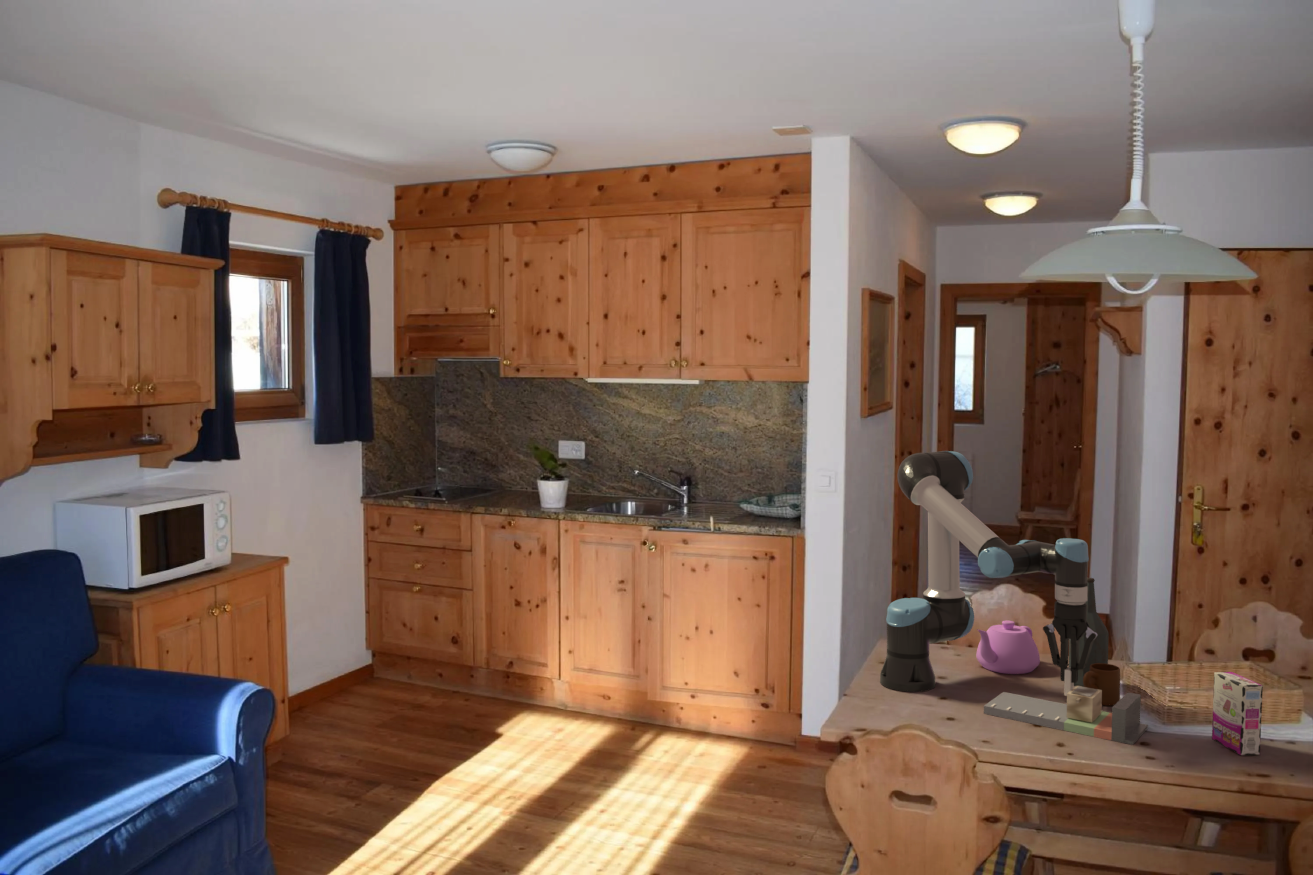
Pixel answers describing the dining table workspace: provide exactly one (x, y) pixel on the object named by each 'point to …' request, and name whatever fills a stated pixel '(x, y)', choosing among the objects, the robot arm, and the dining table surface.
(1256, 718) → the candy bar box
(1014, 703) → the track
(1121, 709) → the grey block
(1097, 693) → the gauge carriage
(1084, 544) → the robot arm
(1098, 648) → the bottle
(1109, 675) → the mug
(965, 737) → the dining table surface
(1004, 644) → the teapot
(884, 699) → the dining table surface
